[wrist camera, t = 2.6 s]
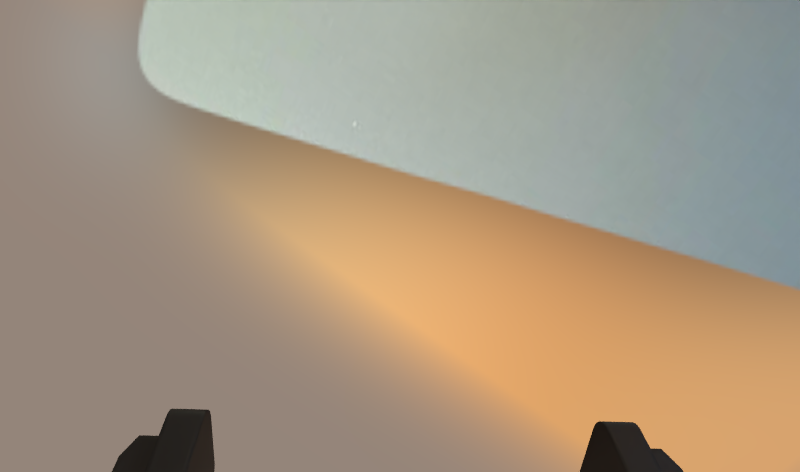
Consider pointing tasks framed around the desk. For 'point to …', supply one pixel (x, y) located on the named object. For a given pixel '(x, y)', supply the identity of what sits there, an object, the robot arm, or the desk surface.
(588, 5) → the desk surface
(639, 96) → the desk surface
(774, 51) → the desk surface
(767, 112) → the desk surface
